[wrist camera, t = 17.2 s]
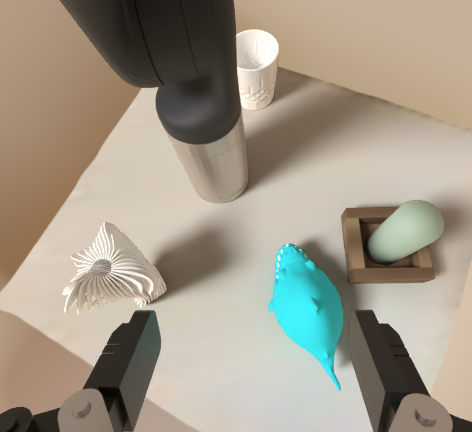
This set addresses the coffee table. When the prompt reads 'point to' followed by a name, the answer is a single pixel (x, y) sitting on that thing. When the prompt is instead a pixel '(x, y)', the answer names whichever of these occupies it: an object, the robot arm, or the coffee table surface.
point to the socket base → (364, 270)
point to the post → (404, 232)
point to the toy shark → (307, 306)
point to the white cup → (256, 68)
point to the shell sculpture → (112, 272)
